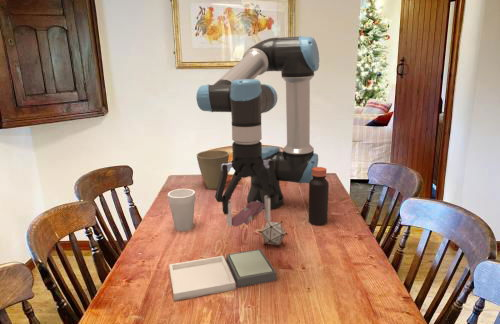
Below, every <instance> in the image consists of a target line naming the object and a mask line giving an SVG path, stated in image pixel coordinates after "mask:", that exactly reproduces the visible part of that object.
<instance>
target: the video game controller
mask: <svg viewBox="0 0 500 324" xmlns="http://www.w3.org/2000/svg"><path fill="white" fill-rule="evenodd" d="M263 208H264V204H263V203H262V202H260V201H258V200H256V201H254V202H250V203H248V204H246V206H245V207H243V208H242V210H241V211H239V213H237V214H236V215H235V216H233V217H232V227H239V226H241V225H243V224H245V225H246V226H247V225H249V223H251V221H254V220H256V219H257V218H258V215H260V213H261V212H262V211H263Z"/></svg>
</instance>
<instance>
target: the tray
mask: <svg viewBox="0 0 500 324" xmlns="http://www.w3.org/2000/svg"><path fill="white" fill-rule="evenodd" d="M168 267H169V275H170V281H171V287H172V288H171V289H172V294H173V302H176V301H177V302H178V301H182V300H188V299H192V298H197V297H202V296H208V295H213V294H218V293H224V292H229V291H235V290H236V288H237V286H236V282H235V280H234V278H233V275H232V273H231V271H230V269H229V266H228V264H227V261H226V259H225V257H224V255H219V256H213V257H206V258H201V259H195V260H194V259H193V260H187V261H182V262H176V263H170V264H168Z"/></svg>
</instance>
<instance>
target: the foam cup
mask: <svg viewBox="0 0 500 324" xmlns="http://www.w3.org/2000/svg"><path fill="white" fill-rule="evenodd" d="M167 200H168V203H169V208H170V213H171V216H172V221H173V226H174V230H175V231H176V232H187V231H190V230H192V229H193V228H194V218H195V217H194V216H195V203H196V202H195V200H196V192H195V190H194V189H192V188H191V189H189V188H177V189H173V190H171V191H169V192H168V193H167Z"/></svg>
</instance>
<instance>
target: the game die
mask: <svg viewBox="0 0 500 324" xmlns="http://www.w3.org/2000/svg"><path fill="white" fill-rule="evenodd" d="M258 233H260V234H261V235H262V238H263V240H264V246H265V245H267V244H268V245H269V244H270V245H275V246H276V245H277V246H278V248H281V243H282V241H283V239H284V238H285V236H288V233H287V232H285V229H284V227H283V220H281V221H280V222H278V221H271V220H270V221H269V222H268V221H267V220H266V224H265V225H264V227H263V228H262V230H261V231H260V230H259V231H258Z"/></svg>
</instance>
